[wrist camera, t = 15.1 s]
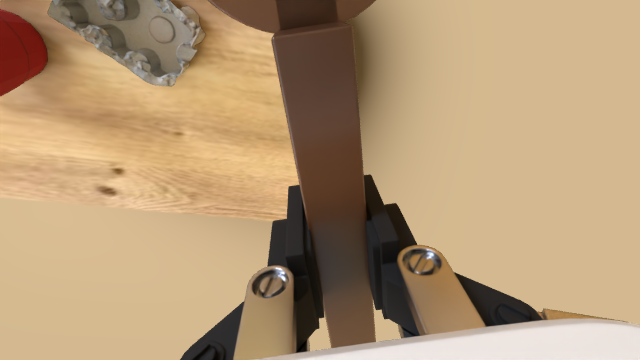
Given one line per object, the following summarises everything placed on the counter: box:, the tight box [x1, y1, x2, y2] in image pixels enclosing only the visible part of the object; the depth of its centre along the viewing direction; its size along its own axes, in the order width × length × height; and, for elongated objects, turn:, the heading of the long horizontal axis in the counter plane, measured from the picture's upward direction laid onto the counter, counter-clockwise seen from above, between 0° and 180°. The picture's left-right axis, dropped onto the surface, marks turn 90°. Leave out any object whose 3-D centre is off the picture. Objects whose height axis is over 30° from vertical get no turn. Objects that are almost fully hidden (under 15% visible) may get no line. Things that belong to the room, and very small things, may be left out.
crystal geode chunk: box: [48, 0, 205, 87], centre depth 27 cm, size 11×8×4 cm
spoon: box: [208, 0, 376, 348], centre depth 10 cm, size 20×6×3 cm, turn 8°
